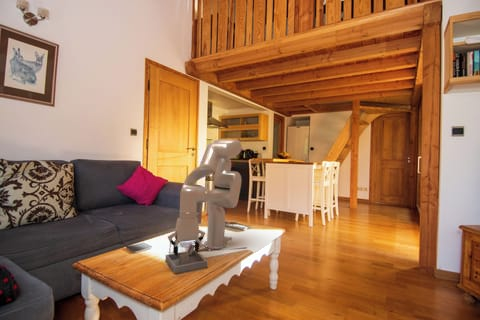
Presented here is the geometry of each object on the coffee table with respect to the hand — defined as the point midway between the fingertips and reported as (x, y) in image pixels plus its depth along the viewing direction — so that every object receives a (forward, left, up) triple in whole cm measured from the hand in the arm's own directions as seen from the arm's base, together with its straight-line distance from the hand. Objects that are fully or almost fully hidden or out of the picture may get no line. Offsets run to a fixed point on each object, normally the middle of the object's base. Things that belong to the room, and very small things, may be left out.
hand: (186, 252), depth 114 cm
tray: (0, 0, -5) cm, 5 cm away
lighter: (0, 0, -5) cm, 5 cm away
